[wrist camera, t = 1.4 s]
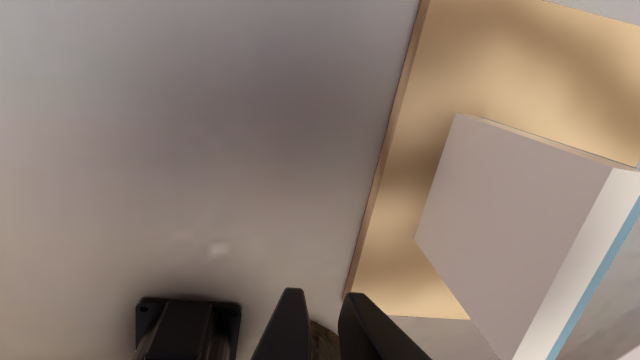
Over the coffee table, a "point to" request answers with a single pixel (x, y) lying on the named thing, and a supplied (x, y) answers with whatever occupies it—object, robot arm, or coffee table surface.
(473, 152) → the tile
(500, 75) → the board
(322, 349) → the hand tool
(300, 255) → the coffee table surface
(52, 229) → the coffee table surface
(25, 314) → the coffee table surface
